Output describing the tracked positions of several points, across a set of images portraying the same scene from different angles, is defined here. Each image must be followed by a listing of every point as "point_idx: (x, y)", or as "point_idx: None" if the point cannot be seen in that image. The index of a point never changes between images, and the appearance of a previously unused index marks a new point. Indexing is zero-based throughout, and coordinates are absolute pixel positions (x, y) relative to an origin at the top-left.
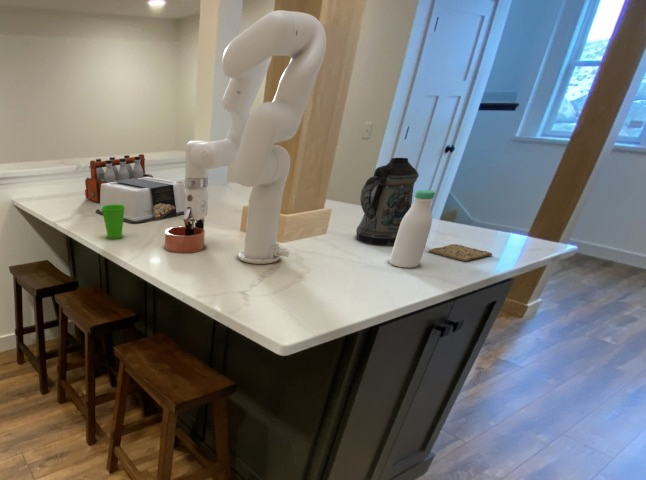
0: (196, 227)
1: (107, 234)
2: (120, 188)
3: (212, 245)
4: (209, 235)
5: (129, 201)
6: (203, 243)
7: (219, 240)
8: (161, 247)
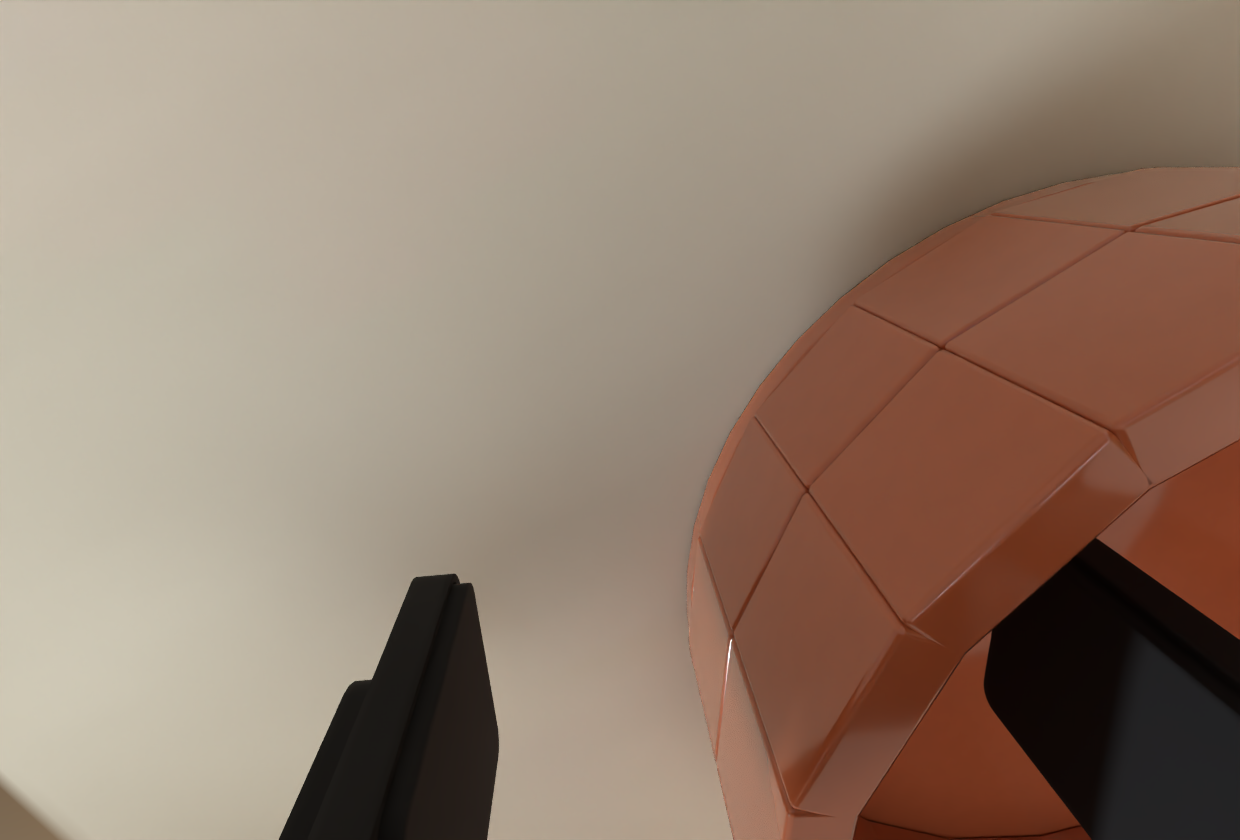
0: (860, 809)
1: None
2: None
3: (729, 97)
4: (2, 561)
5: None
6: (1183, 178)
7: (212, 142)
8: None
